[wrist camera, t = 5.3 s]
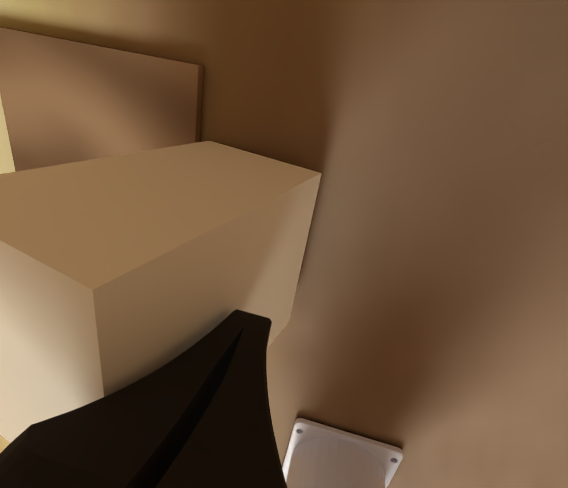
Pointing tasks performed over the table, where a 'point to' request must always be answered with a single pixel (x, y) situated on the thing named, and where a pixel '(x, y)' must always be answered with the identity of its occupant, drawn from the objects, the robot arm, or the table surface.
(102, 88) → the board
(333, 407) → the table surface
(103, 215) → the carton
